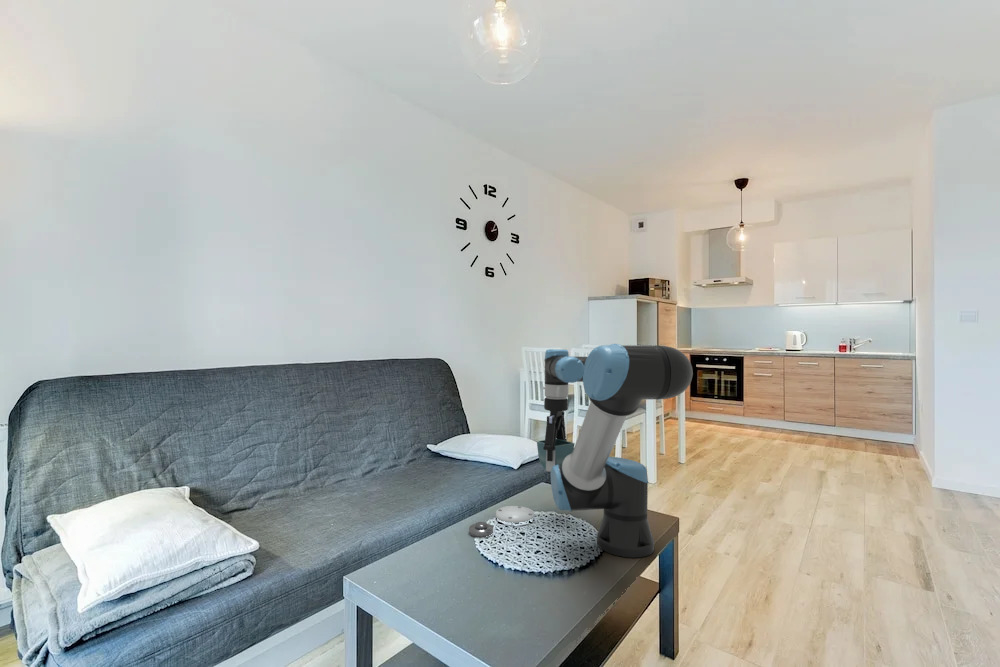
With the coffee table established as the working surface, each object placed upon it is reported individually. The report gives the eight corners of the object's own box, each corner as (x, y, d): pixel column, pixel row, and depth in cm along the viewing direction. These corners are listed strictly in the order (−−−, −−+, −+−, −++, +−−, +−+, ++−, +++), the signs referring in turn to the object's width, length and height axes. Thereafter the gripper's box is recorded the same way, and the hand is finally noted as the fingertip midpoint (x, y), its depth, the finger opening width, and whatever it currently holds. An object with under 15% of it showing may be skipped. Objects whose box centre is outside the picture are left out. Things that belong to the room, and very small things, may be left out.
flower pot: (555, 465, 152) (555, 437, 152) (575, 471, 145) (575, 442, 145) (535, 469, 146) (536, 441, 146) (555, 475, 139) (555, 446, 139)
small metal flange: (496, 530, 135) (496, 521, 135) (488, 539, 128) (488, 530, 128) (474, 526, 137) (474, 518, 137) (465, 535, 131) (465, 526, 131)
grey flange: (538, 514, 148) (538, 508, 148) (528, 528, 136) (528, 521, 136) (502, 510, 152) (503, 503, 152) (490, 523, 140) (490, 516, 140)
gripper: (553, 393, 158) (552, 456, 158) (534, 401, 136) (533, 474, 136) (575, 394, 156) (574, 459, 155) (559, 402, 133) (558, 477, 133)
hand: (555, 466), depth 145 cm, fingers closed on flower pot, 11 cm apart
